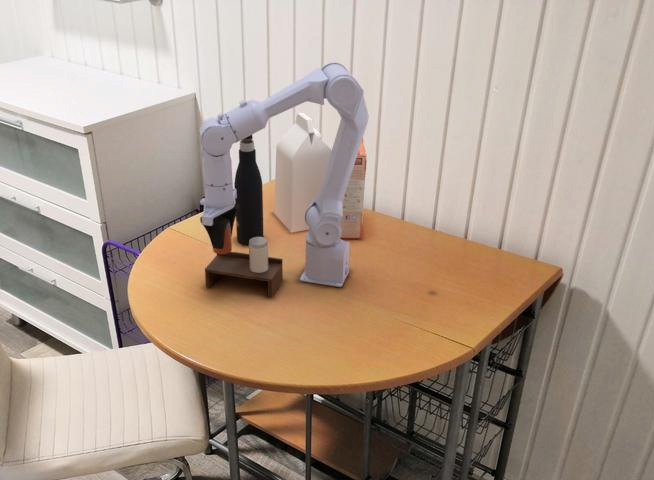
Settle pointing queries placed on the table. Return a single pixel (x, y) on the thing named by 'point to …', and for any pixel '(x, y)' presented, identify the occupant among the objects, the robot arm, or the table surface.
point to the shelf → (244, 270)
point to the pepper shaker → (225, 241)
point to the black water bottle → (248, 194)
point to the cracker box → (354, 198)
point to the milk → (299, 172)
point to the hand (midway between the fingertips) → (222, 243)
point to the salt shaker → (258, 254)
